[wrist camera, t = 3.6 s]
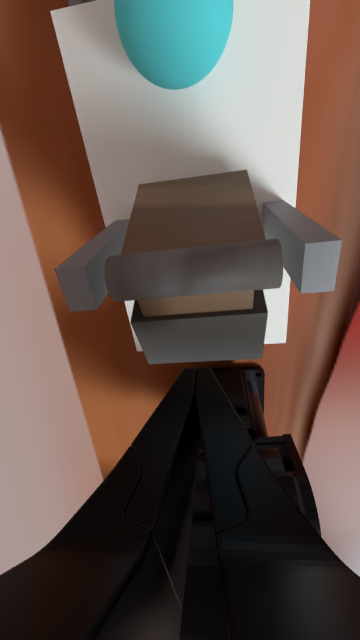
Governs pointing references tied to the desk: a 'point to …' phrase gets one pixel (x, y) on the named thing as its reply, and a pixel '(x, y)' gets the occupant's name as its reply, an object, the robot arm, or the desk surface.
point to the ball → (174, 38)
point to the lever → (196, 269)
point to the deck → (196, 139)
